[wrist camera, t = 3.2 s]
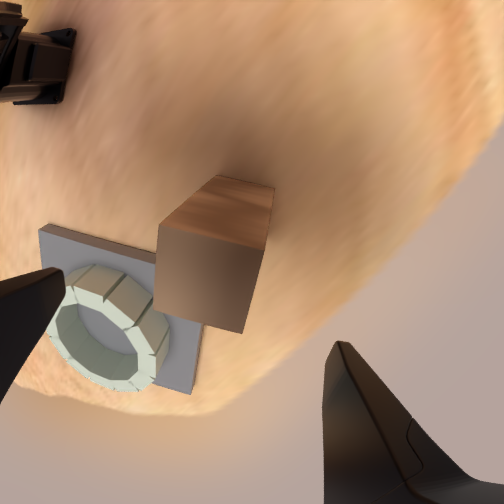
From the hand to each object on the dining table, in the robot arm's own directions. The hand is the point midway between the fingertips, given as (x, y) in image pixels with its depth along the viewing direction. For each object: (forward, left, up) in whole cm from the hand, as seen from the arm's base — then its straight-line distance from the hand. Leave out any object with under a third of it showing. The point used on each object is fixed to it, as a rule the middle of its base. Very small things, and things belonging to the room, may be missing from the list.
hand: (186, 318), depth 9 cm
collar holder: (-9, -13, -13) cm, 20 cm away
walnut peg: (0, -1, -13) cm, 13 cm away
